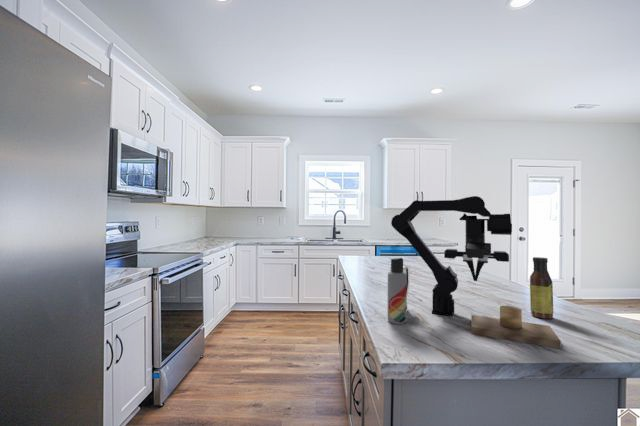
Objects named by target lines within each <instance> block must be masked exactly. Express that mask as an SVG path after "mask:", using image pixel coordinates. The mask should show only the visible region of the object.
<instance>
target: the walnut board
mask: <svg viewBox="0 0 640 426" xmlns="http://www.w3.org/2000/svg"><path fill="white" fill-rule="evenodd" d="M470 317H471V324H470V325H471V326H470V327H471V330H470V331H471V332H470V333H471V334H473V335H478V336H482V337H488V338H489V337H490V338H494V339H495V338H496V339H502V340H508V341H513V342H520V343H527V344H532V345H538V346H544V347H549V348H550V347H551V348H554V349H555V348H556V349H561V347H562V346H561V343H562V342H561V341H562V340H561V339H560V337H559V336H558V335H557V334H556V332H555V331H554V330H553V328H552V327H551V326H550V325H546V324H540V323H534V322H533V323H532V322H527V321H522V329H519V330H516V329H509V328H505V327H502V326H501V325H500V318H499V317H498V318H497V317H491V316H482V315H475V314H471V316H470Z"/></svg>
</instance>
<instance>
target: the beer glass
mask: <svg viewBox="0 0 640 426" xmlns="http://www.w3.org/2000/svg"><path fill="white" fill-rule="evenodd" d="M389 268H390V270H389V272H391V266H390V267H389ZM403 273H406V312H408V311H409V307H408V295H409V290H410V279H411V278H410V267H408V266H403Z"/></svg>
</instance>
